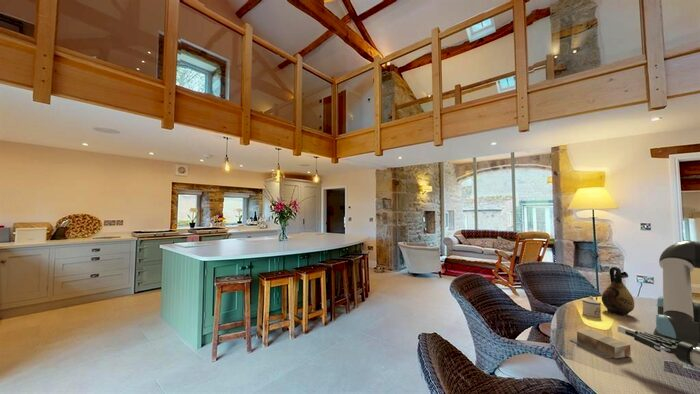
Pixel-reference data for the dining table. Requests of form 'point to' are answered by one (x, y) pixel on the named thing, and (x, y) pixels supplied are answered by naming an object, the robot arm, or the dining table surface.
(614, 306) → the ceramic jug
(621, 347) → the walnut slab
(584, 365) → the dining table surface
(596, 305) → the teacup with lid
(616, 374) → the dining table surface
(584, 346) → the slate mat
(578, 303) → the dining table surface
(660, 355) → the dining table surface
